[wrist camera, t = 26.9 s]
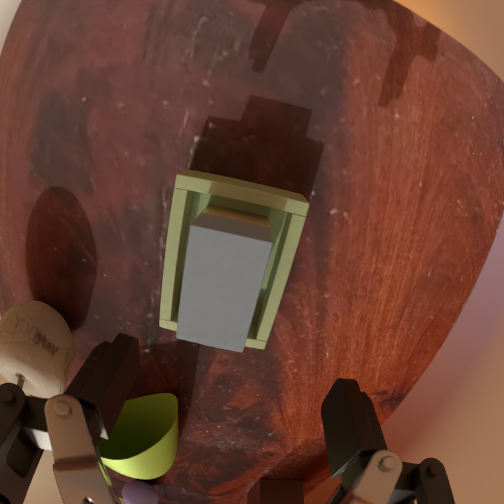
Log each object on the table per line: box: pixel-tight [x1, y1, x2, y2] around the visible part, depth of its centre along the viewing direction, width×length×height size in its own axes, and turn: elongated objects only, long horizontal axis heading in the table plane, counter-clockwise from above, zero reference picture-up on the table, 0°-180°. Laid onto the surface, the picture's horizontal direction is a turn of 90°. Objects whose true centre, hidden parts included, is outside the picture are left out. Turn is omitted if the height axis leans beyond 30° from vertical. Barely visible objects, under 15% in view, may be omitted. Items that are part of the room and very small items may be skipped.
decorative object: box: [0, 301, 75, 398], centre depth 18 cm, size 9×9×10 cm
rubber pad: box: [176, 212, 273, 352], centre depth 16 cm, size 7×4×2 cm, turn 167°
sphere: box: [122, 480, 158, 504], centre depth 34 cm, size 7×7×7 cm
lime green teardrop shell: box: [97, 393, 178, 479], centre depth 25 cm, size 8×12×20 cm
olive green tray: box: [159, 170, 310, 349], centre depth 19 cm, size 11×8×3 cm
